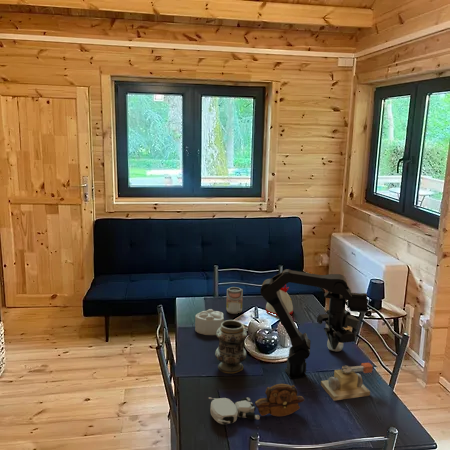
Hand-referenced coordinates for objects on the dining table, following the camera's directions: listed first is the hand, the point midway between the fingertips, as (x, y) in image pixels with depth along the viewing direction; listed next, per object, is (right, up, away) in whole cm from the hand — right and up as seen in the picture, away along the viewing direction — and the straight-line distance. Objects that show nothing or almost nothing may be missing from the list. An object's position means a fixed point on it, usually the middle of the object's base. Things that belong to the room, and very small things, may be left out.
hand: (333, 349), depth 163 cm
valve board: (+3, -13, -5) cm, 14 cm away
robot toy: (-38, -16, -21) cm, 46 cm away
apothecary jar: (-38, -10, +9) cm, 40 cm away
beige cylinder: (-36, +1, +62) cm, 72 cm away
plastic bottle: (+6, -7, +24) cm, 26 cm away
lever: (+7, -7, -5) cm, 11 cm away
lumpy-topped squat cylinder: (-48, -3, +41) cm, 63 cm away
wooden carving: (-22, -16, -19) cm, 34 cm away
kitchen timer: (-12, +1, +64) cm, 65 cm away
